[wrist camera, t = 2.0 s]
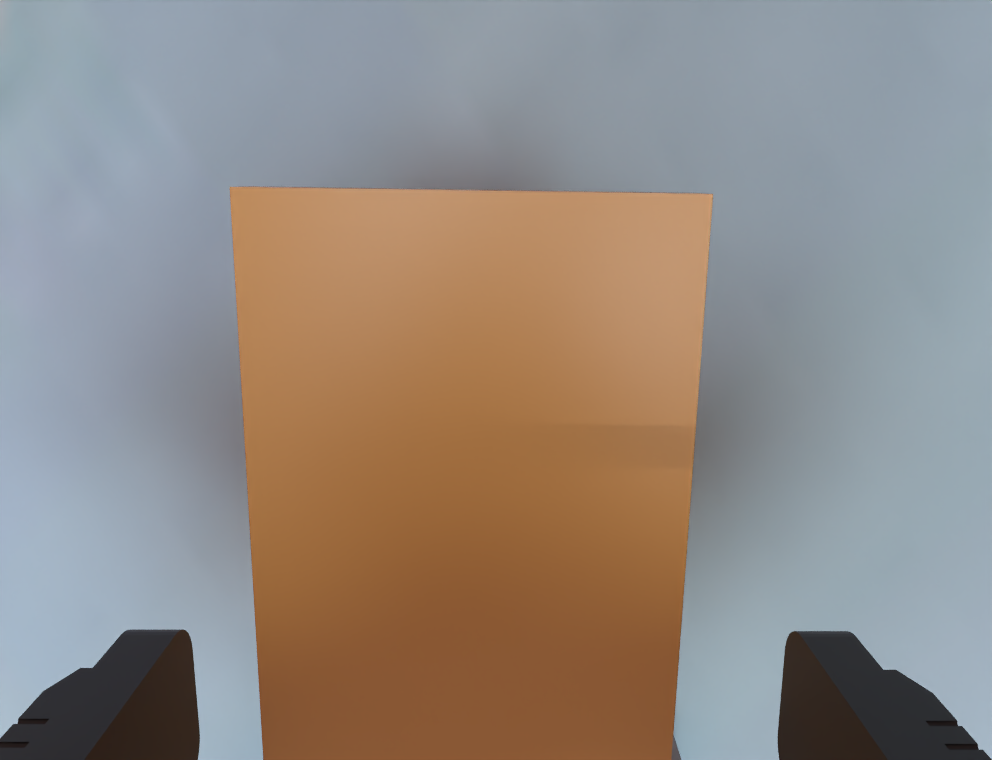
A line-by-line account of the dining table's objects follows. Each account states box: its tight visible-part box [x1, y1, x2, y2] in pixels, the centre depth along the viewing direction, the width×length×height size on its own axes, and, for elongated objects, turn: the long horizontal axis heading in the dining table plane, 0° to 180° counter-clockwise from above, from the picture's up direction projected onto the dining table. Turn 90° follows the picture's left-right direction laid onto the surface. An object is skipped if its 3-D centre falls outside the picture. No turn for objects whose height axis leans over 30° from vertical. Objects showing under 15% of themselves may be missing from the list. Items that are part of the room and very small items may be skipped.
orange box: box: [230, 186, 713, 760], centre depth 14 cm, size 10×5×8 cm, turn 179°
